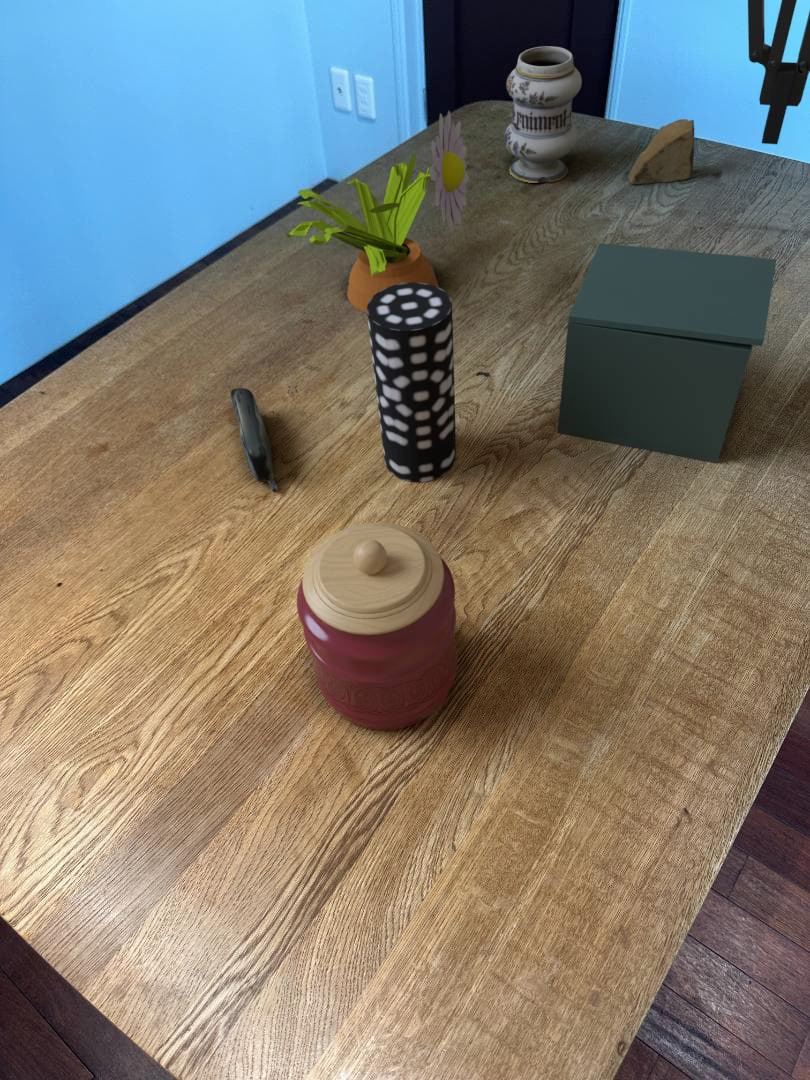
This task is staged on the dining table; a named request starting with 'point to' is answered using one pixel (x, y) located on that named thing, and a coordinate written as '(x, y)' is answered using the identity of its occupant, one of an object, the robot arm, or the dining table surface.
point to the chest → (650, 389)
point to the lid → (677, 293)
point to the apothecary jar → (542, 113)
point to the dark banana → (253, 436)
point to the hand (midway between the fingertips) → (770, 137)
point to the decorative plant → (395, 219)
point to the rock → (666, 155)
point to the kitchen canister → (380, 624)
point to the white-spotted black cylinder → (414, 379)
